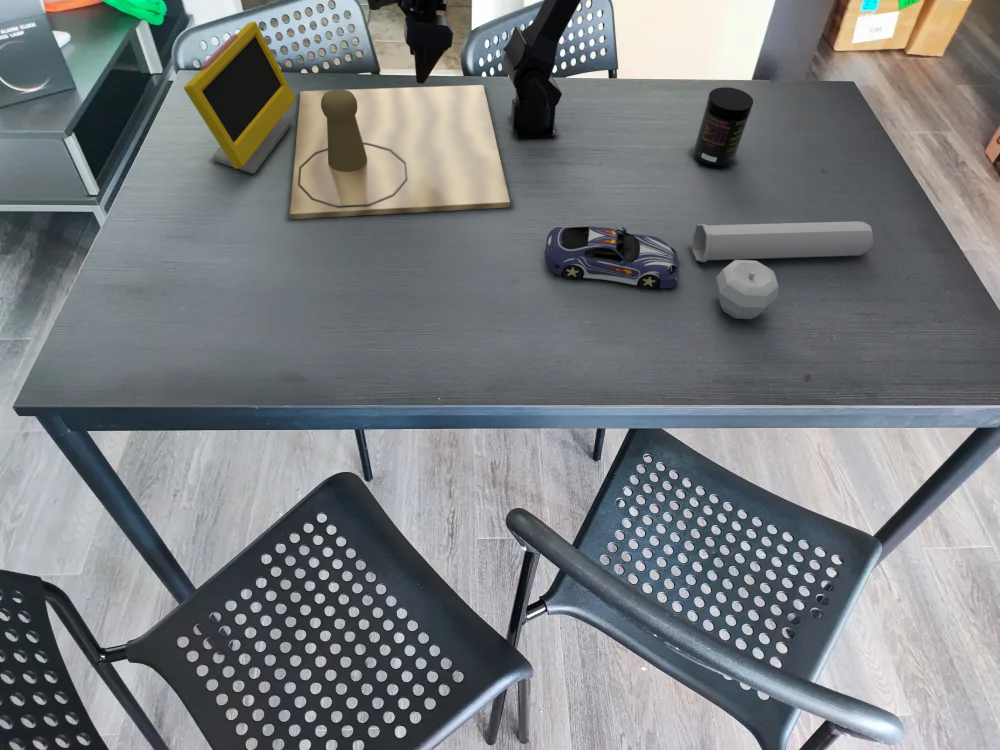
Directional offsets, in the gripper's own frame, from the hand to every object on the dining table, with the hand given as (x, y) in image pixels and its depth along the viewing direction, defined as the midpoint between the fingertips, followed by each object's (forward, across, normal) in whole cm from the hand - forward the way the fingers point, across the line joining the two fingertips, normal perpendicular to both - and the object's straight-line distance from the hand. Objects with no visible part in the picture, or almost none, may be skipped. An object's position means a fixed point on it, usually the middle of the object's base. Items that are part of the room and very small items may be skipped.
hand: (416, 68), depth 105 cm
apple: (+8, +44, +39) cm, 59 cm away
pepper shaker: (+14, +5, -10) cm, 17 cm away
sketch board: (+13, +1, -2) cm, 13 cm away
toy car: (+10, +33, +24) cm, 42 cm away
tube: (+6, +34, +49) cm, 60 cm away
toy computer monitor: (+16, -2, -24) cm, 30 cm away
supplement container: (+6, +10, +48) cm, 49 cm away
